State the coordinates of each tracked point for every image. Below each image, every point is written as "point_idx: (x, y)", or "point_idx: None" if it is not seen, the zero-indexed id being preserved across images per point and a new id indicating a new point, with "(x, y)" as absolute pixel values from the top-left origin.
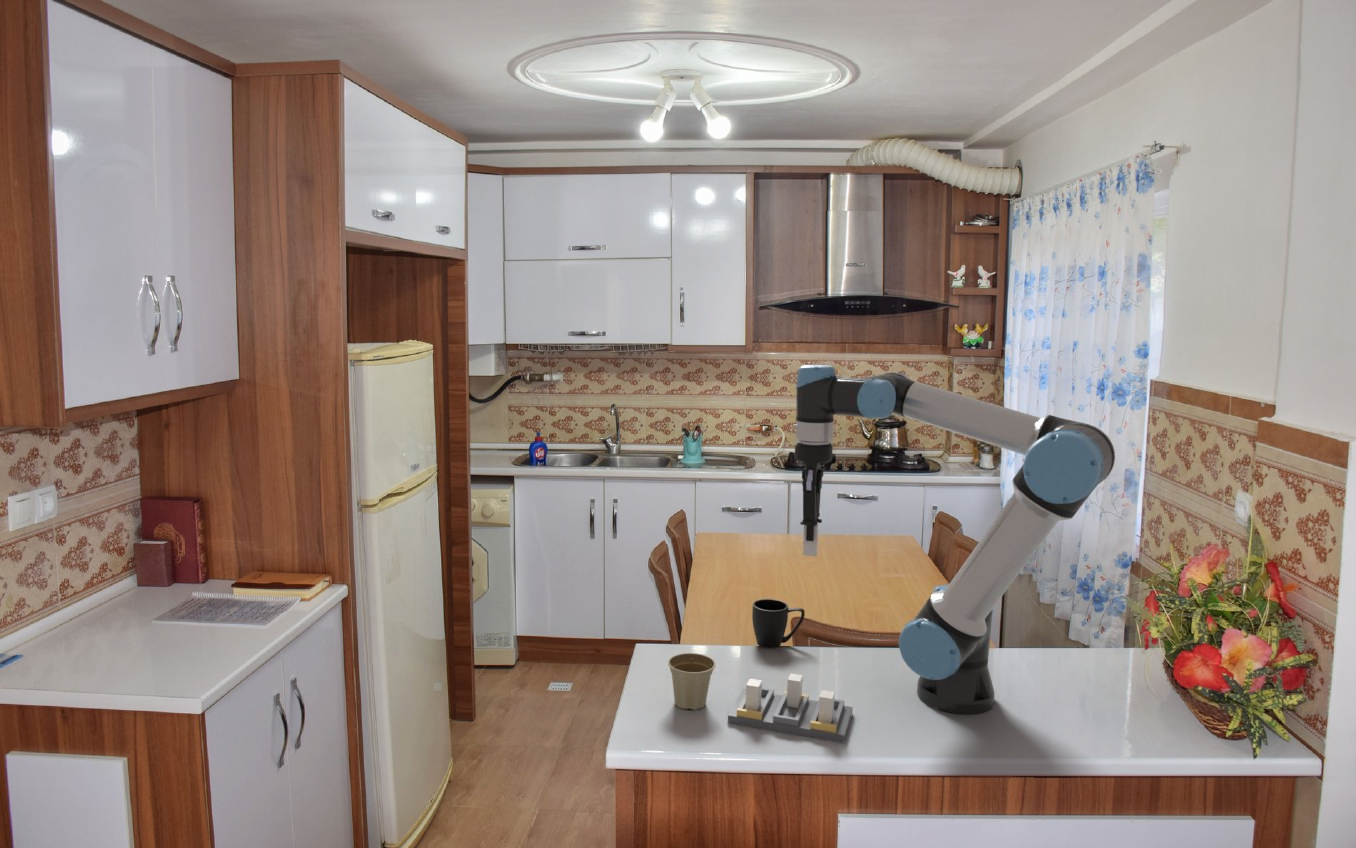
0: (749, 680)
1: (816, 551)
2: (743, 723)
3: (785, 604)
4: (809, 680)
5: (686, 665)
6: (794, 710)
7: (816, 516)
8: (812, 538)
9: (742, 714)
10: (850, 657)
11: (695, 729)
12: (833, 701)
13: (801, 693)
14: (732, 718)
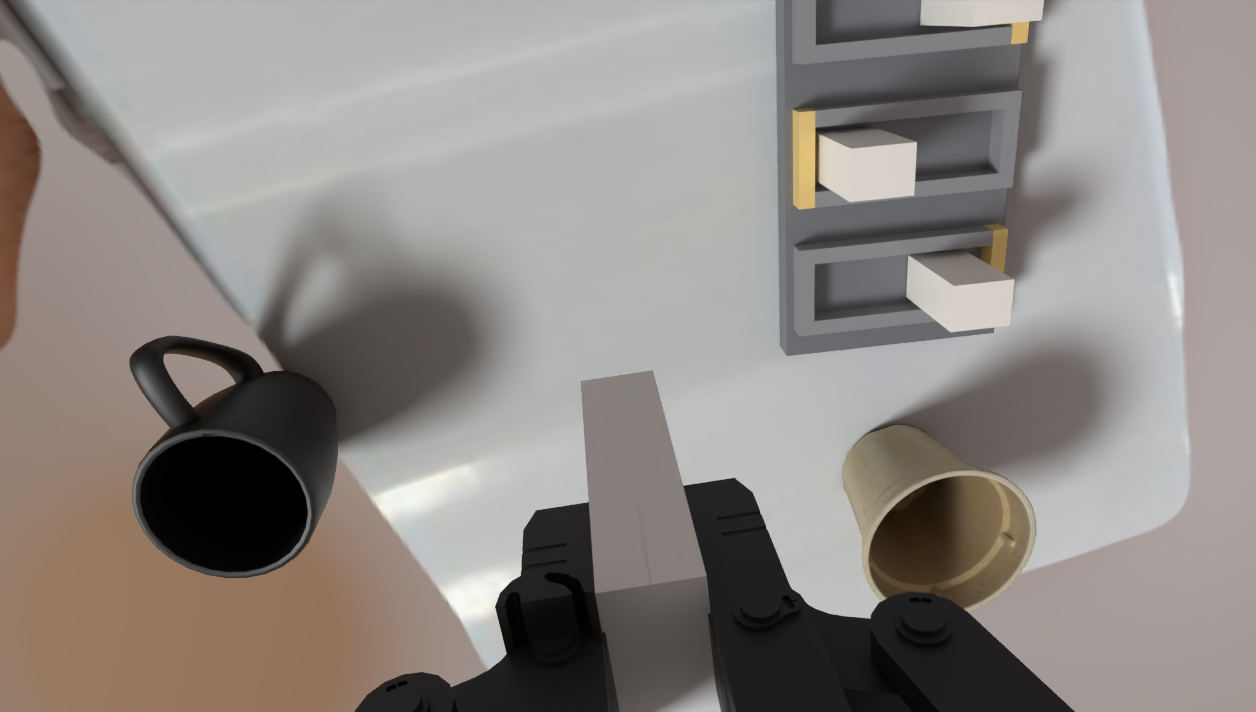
0: (967, 328)
1: (647, 392)
2: None
3: (164, 451)
4: (543, 168)
5: (874, 560)
6: None
7: (799, 695)
8: (752, 503)
9: None
10: (207, 60)
11: (1047, 391)
12: None
13: (838, 136)
14: None
